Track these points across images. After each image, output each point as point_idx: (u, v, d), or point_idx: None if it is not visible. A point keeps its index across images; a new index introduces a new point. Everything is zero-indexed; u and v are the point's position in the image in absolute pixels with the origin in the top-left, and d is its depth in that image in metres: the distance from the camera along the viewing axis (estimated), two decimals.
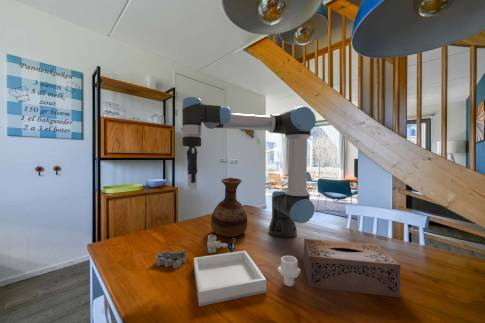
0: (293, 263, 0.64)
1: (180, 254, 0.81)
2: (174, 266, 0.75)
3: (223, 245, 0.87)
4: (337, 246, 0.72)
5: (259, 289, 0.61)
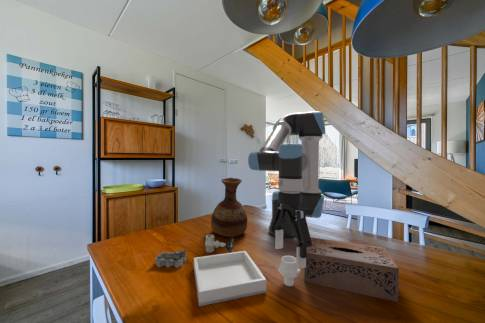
0: (293, 263, 0.64)
1: (179, 254, 0.81)
2: (176, 266, 0.75)
3: (221, 244, 0.88)
4: (338, 246, 0.73)
5: (259, 289, 0.61)
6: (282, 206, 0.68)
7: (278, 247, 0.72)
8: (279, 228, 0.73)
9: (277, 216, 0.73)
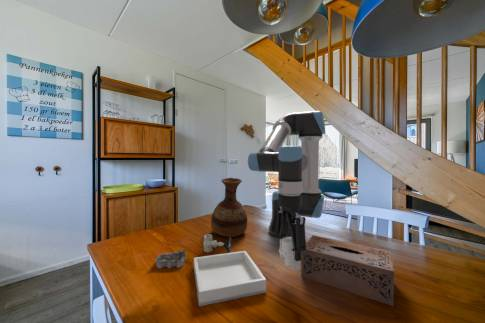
0: None
1: (178, 254, 0.81)
2: (178, 265, 0.76)
3: (219, 244, 0.88)
4: (340, 246, 0.73)
5: (259, 289, 0.61)
6: (282, 208, 0.69)
7: (283, 256, 0.70)
8: (284, 236, 0.71)
9: (279, 222, 0.72)
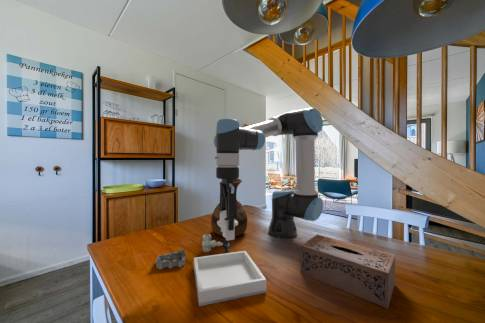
0: None
1: (178, 254, 0.81)
2: (180, 265, 0.76)
3: (218, 244, 0.88)
4: (341, 246, 0.73)
5: (259, 289, 0.61)
6: (222, 181, 0.70)
7: None
8: None
9: (222, 196, 0.73)
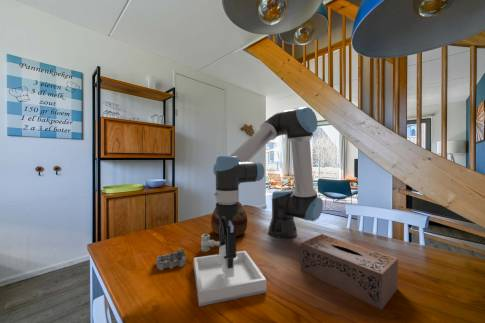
0: None
1: (177, 254, 0.81)
2: (181, 265, 0.76)
3: (217, 243, 0.89)
4: (342, 246, 0.73)
5: (259, 289, 0.61)
6: (221, 216, 0.71)
7: None
8: (224, 244, 0.72)
9: None
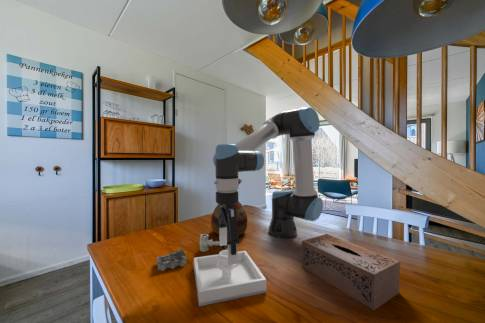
0: None
1: (177, 254, 0.81)
2: (182, 264, 0.77)
3: (216, 243, 0.89)
4: (344, 246, 0.73)
5: (259, 289, 0.61)
6: (222, 205, 0.70)
7: (222, 244, 0.75)
8: (223, 226, 0.75)
9: None
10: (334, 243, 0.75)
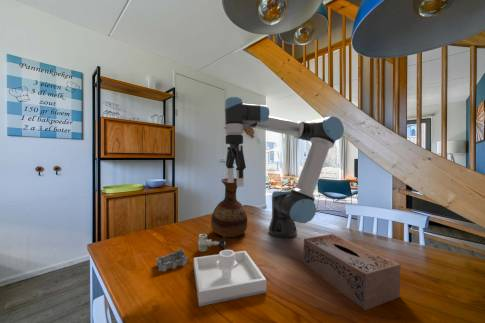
0: (228, 257, 0.66)
1: (176, 254, 0.81)
2: (183, 264, 0.77)
3: (215, 243, 0.89)
4: (345, 246, 0.72)
5: (259, 289, 0.61)
6: (230, 147, 0.90)
7: (229, 181, 0.94)
8: (230, 167, 0.95)
9: (228, 158, 0.94)
10: (336, 243, 0.75)
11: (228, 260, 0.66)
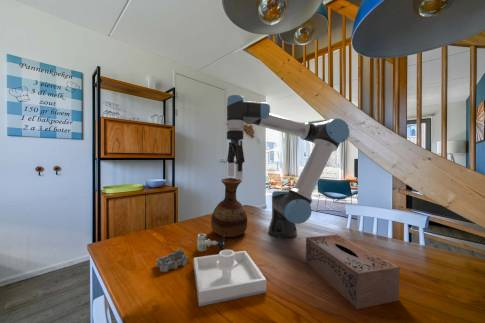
0: (228, 256, 0.66)
1: (176, 254, 0.81)
2: (184, 263, 0.77)
3: (213, 243, 0.89)
4: (347, 246, 0.72)
5: (259, 289, 0.61)
6: (231, 143, 0.95)
7: (230, 175, 0.99)
8: (231, 162, 0.99)
9: (229, 153, 0.99)
10: (338, 243, 0.75)
11: (228, 260, 0.66)
